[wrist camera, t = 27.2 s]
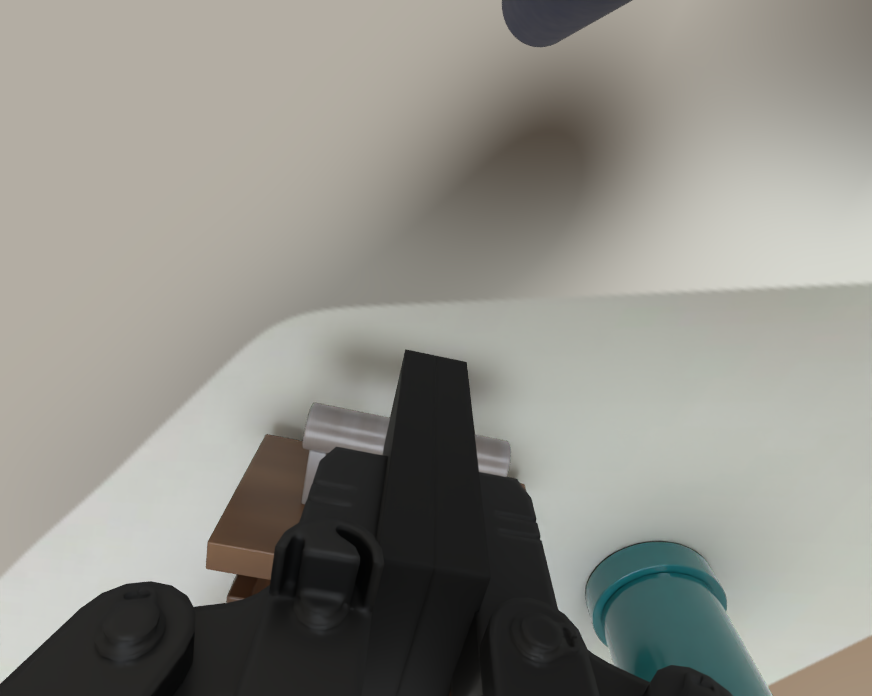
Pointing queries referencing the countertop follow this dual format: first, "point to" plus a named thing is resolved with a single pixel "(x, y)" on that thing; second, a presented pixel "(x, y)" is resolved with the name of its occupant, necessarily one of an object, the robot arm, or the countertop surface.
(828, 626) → the countertop surface
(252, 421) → the countertop surface
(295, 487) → the drawer
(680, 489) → the countertop surface
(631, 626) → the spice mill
